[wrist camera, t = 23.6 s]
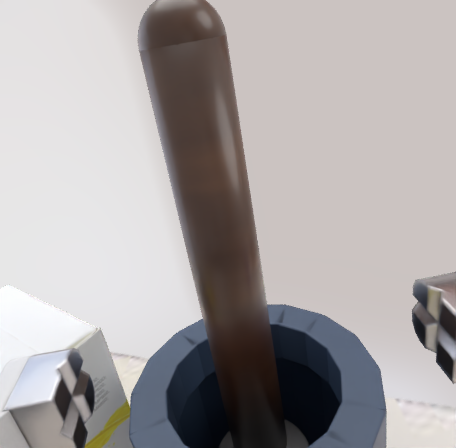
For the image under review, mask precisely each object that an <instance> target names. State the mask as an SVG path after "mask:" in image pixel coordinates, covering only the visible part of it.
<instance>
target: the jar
mask: <svg viewBox="0 0 456 448" xmlns="http://www.w3.org/2000/svg"><path fill="white" fill-rule="evenodd" d="M267 308H268V314H269V321H270V328H271V334H272V341H273V347H274V354H275V361H276V367H277V374H278V381H279V387H280V394H281V400H282V407H283V414H284V419H286V420H288V421H290V422H291V423H293V424H294V425H295V426H296V427H298V428H299V429H300V430H301V432H302V433H303V434H304V435H305V437H306V439H307V441H308V443H309V445H310V446H309V447H307V448H386V404H385V397H384V391H383V385H382V378H381V371H380V369H379V367H378V365H377V364H376V362H375V361H374V360H373V358H372V357H371V355H370V354H369V353H368V351H367V350H366V348H365V347H364V346H363V344H362V343H361V342H360V340H359V339H358V337H357V336H356V335H355V334H353V333H352V332H350V331H349V330H347V329H345V328H344V327H342V326H341V325H339V324H338V323H336V322H334V321H333V320H331V319H330V318H328V317H327V316H325V315H322V314H319V313H315V312H310V311H307V310H303V309H300V308H296V307H292V306H289V305H288V306H287V305H267ZM131 395H132V396H131V404H130V425H129V439H130V441H131V444H132V446H133V448H219V446H220V443H221V441H222V440H223V438H224V436H225V435H226V434H227V432H228V431H229V426H228V422H227V417H226V413H225V409H224V405H223V401H222V396H221V392H220V388H219V384H218V380H217V375H216V371H215V367H214V363H213V359H212V354H211V350H210V346H209V342H208V338H207V333H206V329H205V325H204V321H203V319H201V320H199V321H198V322H196V323H194V324H192V325H190V326H188V327H186V328H184V329H183V330H181V331H179V332H178V333H176V334H175V335H174V336H173V337H172V338H171V339H170V340H168V341H167V342H166V343H165V345H163V346H162V347H161V348H160V349H159V350H158V351H157V352H156V353H155V354H154V355H153V356H152V357H151V358H150V359H149V360H148V362H147V364H146V366H145V368H144V370H143V372H142V374H141V376H140V378H139V380H138V382H137V384H136V385H135V387H134V389H133V391H132V394H131Z"/></svg>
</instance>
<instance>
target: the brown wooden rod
mask: <svg viewBox="0 0 456 448" xmlns="http://www.w3.org/2000/svg"><path fill="white" fill-rule="evenodd" d="M138 46H139V52H140V56H141V61H142V65H143V69H144V73H145V77H146V81H147V86H148V90H149V94H150V98H151V102H152V107H153V111H154V115H155V119H156V123H157V128H158V132H159V136H160V140H161V144H162V149H163V152H164V157H165V161H166V165H167V170H168V173H169V178H170V182H171V186H172V191H173V195H174V199H175V203H176V207H177V211H178V216H179V220H180V224H181V228H182V232H183V237H184V241H185V245H186V249H187V253H188V258H189V262H190V266H191V270H192V274H193V279H194V282H195V287H196V291H197V295H198V300H199V304H200V308H201V312H202V317H203V321H204V325H205V329H206V333H207V338H208V342H209V346H210V350H211V354H212V359H213V363H214V367H215V371H216V375H217V380H218V384H219V388H220V392H221V396H222V401H223V405H224V409H225V413H226V417H227V422H228V426H229V431H228V432H227V434H226V435H225V436H224V438H223V440H222V441H221V443H220V446H219V448H307V447H309V446H310V445H309V443H308V441H307V439H306V437H305V435H304V434H303V433H302V432H301V430H300V429H299V428H298V427H296V426H295V425H294V424H293V423H291V422H290V421H288V420H286V419H284V414H283V407H282V400H281V394H280V387H279V381H278V374H277V367H276V361H275V354H274V347H273V341H272V334H271V328H270V321H269V314H268V308H267V301H266V295H265V288H264V281H263V275H262V268H261V261H260V255H259V248H258V241H257V235H256V228H255V222H254V215H253V208H252V202H251V195H250V189H249V182H248V175H247V169H246V162H245V155H244V149H243V142H242V136H241V129H240V122H239V116H238V109H237V103H236V96H235V89H234V83H233V76H232V69H231V63H230V56H229V49H228V43H227V36H226V32H225V27H224V24H223V22H222V20H221V17H220V16H219V14H218V13H217V11H216V10H215V9H214V8H213V7H212V6H211V5H210V4H209V3H208V2H207V1H206V0H156V1H155V2H153V3H152V4H151V5H150V6H149V8H148V9H147V11H146V12H145V13H144V15H143V17H142V20H141V22H140V26H139V30H138Z"/></svg>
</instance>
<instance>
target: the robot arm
mask: <svg viewBox="0 0 456 448" xmlns="http://www.w3.org/2000/svg"><path fill="white" fill-rule="evenodd" d="M413 295H414V296H415V298H416V299H417V300H418V303H417V304H416V305H415V307H414V308H413V310H412V322H413V325H414V329H415V332H416V334H417V336H418V338H419V340H420V342H421V343H422V344H423V346H424V347H425V348H426V349H428V350H431V351H433V352H435V353H437V356H436V362H437V364H438V365H439V366H440V367H441V369H442V370H443V371H444V373H445V374H446V375H447V376H448V377H449V379H450V380H451V381H452V383H453V384H454V383H456V272H453V273H448V274H443V275H438V276H433V277H428V278H423V279H418V280H416V281H415V283H414V285H413ZM83 361H84V360H83V358H82V356H81V354H80V352H79V350H78V349H76V348H70V349H65V350H59V351H53V352H48V353H42V354H36V355H33V356H26V357H21V358H16V359H12V360H10V361H9V362H7V363H6V365H5V366H4V368H3V370H2V372H1V374H0V448H84V447H85V443H86V439H87V435H88V431H87V429H86V427H85V425H84V424H85V423H86V422H87V421H88V420H89V419H90V418H91V417H92V415H93V410H94V406H95V391H94V386H93V382H92V379H91V377H90V374H88V373H86V372H85V371H83V370H81V367H82V364H83Z"/></svg>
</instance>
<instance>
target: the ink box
mask: <svg viewBox="0 0 456 448" xmlns="http://www.w3.org/2000/svg"><path fill="white" fill-rule="evenodd" d="M70 348H76V349H78V350H79V352H80V354H81V356H82V358H83V360H84V361H83V364H82V367H81V370H83V371H85V372H86V373H88V374H90V377H91V379H92V382H93V386H94V391H95V406H94V410H93V415H92V417H91V418H90V419H89V420H88V421H87V422H86V423H85V424H84V425H85V427H86V429H87V431H88V435H87V439H86V443H85V447H84V448H133V446H132V444H131V441H130V439H129V425H130V406H129V404H128V401H127V398H126V395H125V393H124V390H123V387H122V385H121V382H120V379H119V376H118V374H117V371H116V368H115V365H114V362H113V359H112V357H111V354H110V351H109V349H108V346H107V343H106V341H105V338H104V336H103V333H102V331H101V328H99V327H95V326H93V325H91V324H89V323H87V322H85V321H83V320H81V319H79V318H77V317H74V316H72V315H71V314H68V313H66V312H64V311H62V310H60V309H58V308H56V307H54V306H52V305H50V304H48V303H46V302H44V301H42V300H40V299H38V298H36V297H33V296H32V295H29V294H27V293H25V292H23V291H21V290H19V289H17V288H15V287H13V286H11V285H7V286H5V287H3V288H1V289H0V374H1V372H2V370H3V368H4V366H5V365H6V363H7V362H9V361H10V360H12V359H16V358H21V357H26V356H33V355H36V354H42V353H48V352H53V351H59V350H65V349H70Z"/></svg>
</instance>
